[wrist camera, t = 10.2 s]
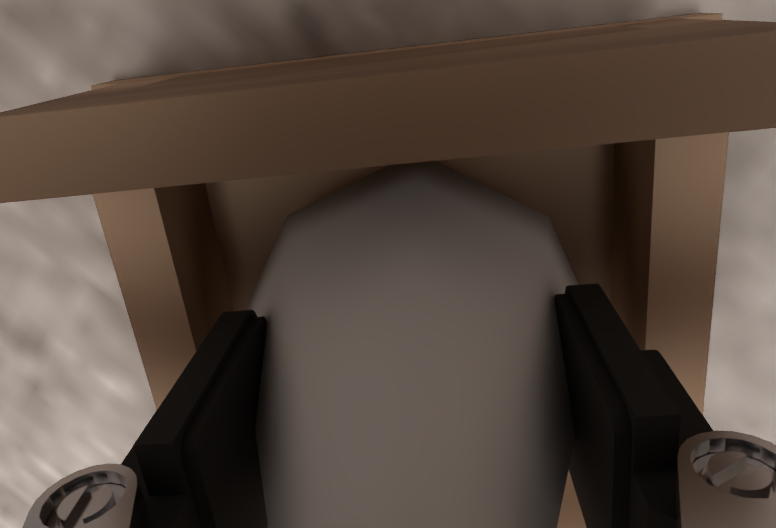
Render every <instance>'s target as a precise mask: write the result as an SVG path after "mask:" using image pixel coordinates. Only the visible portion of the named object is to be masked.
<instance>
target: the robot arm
mask: <svg viewBox="0 0 776 528" xmlns="http://www.w3.org/2000/svg"><path fill="white" fill-rule="evenodd" d="M555 307H556V313H557V320H558V326H559V333H560V339H561V346H562V352H563V358H564V365H565V371H566V378H567V384H568V391H569V397H570V404H571V410H572V417H573V423H574V429H575V440H574V445H573V450H572V455H571V460H570V465H569V472H570V475H571V479H572V482H573V485H574V488H575V492H576V495H577V498H578V501H579V505H580V508H581V511H582V514H583V518H584V521H585V524H586V527H587V528H776V445H774V444H773V443H771V442H769V441H766V440H763V439H760V438H758V437H755V436H752V435H748V434H743V433H738V432H733V431H713V430H712V428H711V427H710V425H709V424H708V422H707V421H706V419H705V418H704V416H703V415H702V413H701V412H700V411H699V409H698V408H697V406H696V405H695V403H694V402H693V400H692V399H691V397H690V396H689V394H688V393H687V391H686V390H685V388H684V387H683V385H682V384H681V383H680V381H679V380H678V378H677V377H676V375H675V374H674V372H673V371H672V369H671V368H670V366H669V365H668V363H667V362H666V360H665V359H664V358H663V356H662V355H661V353H660V352H659V351H658V350H654V349H653V350H640V348H639V347H638V345H637V344H636V342H635V340H634V339H633V337H632V336H631V334H630V332H629V331H628V329H627V328H626V326H625V324H624V323H623V321H622V320H621V318H620V316H619V315H618V313H617V312H616V310H615V309H614V307H613V305H612V304H611V302H610V301H609V299H608V297H607V296H606V294H605V293H604V291H603V289H602V288H601V286H600V285H599V284H598V283H594V284H581V285H568V286H566V288H565V294H556V295H555ZM266 327H267V320H266V318H265V317H264V316H262V317H257V315H256V313H255V311H254V310H243V311H230V312H223V313H222V314H221V315H220V317H219V318H218V320H217V321H216V323H215V324H214V326H213V327H212V329H211V330H210V332H209V333H208V335H207V336H206V338H205V339H204V341H203V342H202V344H201V345H200V347H199V348H198V350H197V351H196V353H195V354H194V356H193V357H192V359H191V360H190V362H189V363H188V365H187V366H186V368H185V369H184V371H183V372H182V374H181V375H180V377H179V378H178V380H177V381H176V383H175V384H174V386H173V387H172V389H171V390H170V392H169V393H168V394H167V396H166V397H165V399H164V400H163V402H162V403H161V405H160V406H159V408H158V409H157V411H156V412H155V414H154V415H153V417H152V418H151V420H150V421H149V423H148V424H147V426H146V427H145V429H144V430H143V432H142V433H141V435H140V436H139V438H138V439H137V441H136V442H135V444H134V445H133V447H132V449H131V450H130V452H129V453H128V455H127V456H126V458H125V459H124V461H123V462H122V464H103V465H96V466H91V467H88V468H85V469H82V470H79V471H77V472H75V473H73V474H70V475H68V476H66V477H64V478H62V479H61V480H59V481H58V482H56V483H55V484H54V485H52V486H51V487H49V488H48V489H47V490H46V491H45V492H44V493H43V494H42V495H41V496H40V497H39V498H38V499H37V500H36V501H35V503H34V504H33V506H32V508H31V509H30V511H29V513H28V515H27V518H26V520H25V523H24V525H23V528H266V527H267V524H268V522H267V514H266V507H265V499H264V492H263V484H262V477H261V469H260V462H259V454H258V447H257V439H256V432H255V424H256V415H257V407H258V398H259V389H260V380H261V371H262V363H263V354H264V345H265V336H266Z"/></svg>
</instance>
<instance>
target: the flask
mask: <svg viewBox="0 0 776 528" xmlns="http://www.w3.org/2000/svg"><path fill="white" fill-rule="evenodd" d="M568 285H579V284H578V282H577V280H576V277H575V275H574V273H573V271H572V268H571V266H570V264H569V261H568V259H567V257H566V255H565V252H564V250H563V248H562V245H561V243H560V241H559V239H558V236H557V234H556V232H555V230H554V227H553V225H552V223H551V220H550V218H549V217H548V216H546V215H544V214H542V213H540V212H538V211H536V210H534V209H532V208H530V207H528V206H526V205H524V204H522V203H520V202H518V201H516V200H514V199H512V198H510V197H508V196H506V195H504V194H502V193H500V192H498V191H496V190H494V189H492V188H490V187H488V186H486V185H484V184H482V183H480V182H478V181H476V180H474V179H472V178H470V177H468V176H466V175H464V174H462V173H460V172H458V171H456V170H454V169H452V168H450V167H448V166H445V165H443V164H441V163H439V162H437V161H427V162H417V163H406V164H396V165H388V166H386V167H384V168H382V169H380V170H378V171H376V172H374V173H372V174H370V175H368V176H366V177H364V178H362V179H360V180H358V181H356V182H354V183H352V184H350V185H348V186H346V187H344V188H342V189H340V190H338V191H336V192H334V193H332V194H330V195H328V196H326V197H324V198H322V199H320V200H318V201H316V202H314V203H311V204H309V205H307V206H305V207H303V208H301V209H299V210H297V211H295V212H293V213H291V214H289V215H287V217H286V220H285V222H284V224H283V226H282V229H281V231H280V233H279V235H278V238H277V240H276V242H275V244H274V247H273V249H272V251H271V253H270V256H269V258H268V260H267V262H266V265H265V267H264V269H263V272H262V274H261V276H260V278H259V281H258V283H257V285H256V287H255V290H254V292H253V294H252V296H251V299H250V301H249V303H248V305H247V308H246V310H254V311H255V313H256V315H257V317H262V316H264V317H265V318H266V320H267V327H266V336H265V345H264V354H263V363H262V371H261V380H260V389H259V398H258V407H257V415H256V424H255V432H256V439H257V447H258V454H259V462H260V469H261V477H262V484H263V492H264V499H265V507H266V514H267V522H268V528H557V524H558V520H559V515H560V510H561V505H562V500H563V495H564V490H565V485H566V480H567V475H568V470H569V465H570V460H571V455H572V450H573V445H574V440H575V429H574V423H573V417H572V410H571V404H570V397H569V391H568V384H567V378H566V371H565V365H564V358H563V352H562V346H561V339H560V333H559V326H558V320H557V313H556V307H555V295H556V294H565V288H566V286H568Z"/></svg>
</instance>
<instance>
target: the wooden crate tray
mask: <svg viewBox="0 0 776 528" xmlns="http://www.w3.org/2000/svg"><path fill="white" fill-rule="evenodd" d="M91 87H92V90H91V91H87V92H83V93H79V94H75V95H71V96H67V97H62V98H58V99H54V100H50V101H46V102H42V103H38V104H34V105H30V106H26V107H22V108H17V109H13V110H9V111H5V112H1V113H0V203H5V202H15V201H26V200H36V199H46V198H57V197H67V196H77V195H87V194H93V197H94V201H95V204H96V207H97V211H98V214H99V217H100V221H101V224H102V228H103V231H104V234H105V238H106V241H107V244H108V248H109V251H110V254H111V258H112V261H113V264H114V268H115V271H116V274H117V278H118V281H119V284H120V288H121V291H122V295H123V298H124V301H125V305H126V308H127V311H128V315H129V318H130V321H131V325H132V328H133V331H134V335H135V338H136V341H137V345H138V348H139V352H140V355H141V358H142V362H143V365H144V368H145V372H146V375H147V378H148V382H149V385H150V388H151V392H152V395H153V398H154V402H155V405H156V409H158V408H159V406H160V405H161V403H162V402H163V400H164V399H165V397H166V396H167V394H168V393H169V392H170V390H171V389H172V387H173V386H174V384H175V383H176V381H177V380H178V378H179V377H180V375H181V374H182V372H183V371H184V369H185V368H186V366H187V365H188V363H189V362H190V360H191V359H192V357H193V356H194V354H195V353H196V351H197V350H198V348H199V347H200V345H201V344H202V342H203V341H204V339H205V338H206V336H207V335H208V333H209V332H210V330H211V329H212V327H213V326H214V324H215V323H216V321H217V320H218V318H219V317H220V315H221V314H222V313H223V312H230V311H243V310H246V308H247V305H248V303H249V301H250V299H251V296H252V294H253V292H254V290H255V287H256V285H257V283H258V281H259V278H260V276H261V274H262V272H263V269H264V267H265V265H266V262H267V260H268V258H269V256H270V253H271V251H272V249H273V247H274V244H275V242H276V240H277V238H278V235H279V233H280V231H281V229H282V226H283V224H284V222H285V220H286V217H287V215H289V214H291V213H293V212H295V211H297V210H299V209H301V208H303V207H305V206H307V205H309V204H311V203H314V202H316V201H318V200H320V199H322V198H324V197H326V196H328V195H330V194H332V193H334V192H336V191H338V190H340V189H342V188H344V187H346V186H348V185H350V184H352V183H354V182H356V181H358V180H360V179H362V178H364V177H366V176H368V175H370V174H372V173H374V172H376V171H378V170H380V169H382V168H384V167H386V166H388V165H396V164H406V163H417V162H427V161H437V162H439V163H441V164H443V165H445V166H448V167H450V168H452V169H454V170H456V171H458V172H460V173H462V174H464V175H466V176H468V177H470V178H472V179H474V180H476V181H478V182H480V183H482V184H484V185H486V186H488V187H490V188H492V189H494V190H496V191H498V192H500V193H502V194H504V195H506V196H508V197H510V198H512V199H514V200H516V201H518V202H520V203H522V204H524V205H526V206H528V207H530V208H532V209H534V210H536V211H538V212H540V213H542V214H544V215H546V216H548V217H549V218H550V220H551V223H552V225H553V227H554V230H555V232H556V234H557V236H558V239H559V241H560V243H561V245H562V248H563V250H564V252H565V255H566V257H567V259H568V261H569V264H570V266H571V268H572V271H573V273H574V275H575V277H576V280H577V282H578V284H579V285H581V284H594V283H598V284H599V285H600V286H601V288H602V289H603V291H604V293H605V294H606V296H607V297H608V299H609V301H610V302H611V304H612V305H613V307H614V309H615V310H616V312H617V313H618V315H619V316H620V318H621V320H622V321H623V323H624V324H625V326H626V328H627V329H628V331H629V332H630V334H631V336H632V337H633V339H634V340H635V342H636V344H637V345H638V347H639V348H640V350H653V349H654V350H658V351H659V352H660V353H661V355H662V356H663V358H664V359H665V360H666V362H667V363H668V365H669V366H670V368H671V369H672V371H673V372H674V374H675V375H676V377H677V378H678V380H679V381H680V383H681V384H682V385H683V387H684V388H685V390H686V391H687V393H688V394H689V396H690V397H691V399H692V400H693V402H694V403H695V405H696V406H697V408H698V409H699V411H700V412H701V413H702V415H703V405H704V394H705V383H706V373H707V362H708V351H709V340H710V329H711V318H712V308H713V297H714V286H715V275H716V264H717V253H718V243H719V232H720V221H721V210H722V199H723V188H724V178H725V167H726V156H727V145H728V134H729V132H736V131H746V130H756V129H766V128H776V22H758V21H732V20H722V14H719V13H699V14H690V15H681V16H673V17H664V18H655V19H647V20H638V21H629V22H621V23H612V24H603V25H594V26H586V27H577V28H568V29H560V30H551V31H542V32H533V33H525V34H516V35H507V36H499V37H490V38H481V39H473V40H464V41H455V42H446V43H438V44H429V45H420V46H412V47H403V48H394V49H386V50H377V51H368V52H359V53H351V54H342V55H333V56H325V57H316V58H307V59H299V60H290V61H281V62H272V63H264V64H255V65H246V66H238V67H229V68H220V69H212V70H203V71H194V72H185V73H177V74H168V75H159V76H151V77H142V78H133V79H124V80H116V81H110V82H106V83H101V84H97V85H93V86H91ZM266 528H268V524H267V527H266ZM557 528H587V527H586V524H585V521H584V518H583V514H582V511H581V508H580V505H579V501H578V498H577V495H576V492H575V488H574V485H573V482H572V479H571V475H570V472H569V470H568V475H567V480H566V485H565V490H564V495H563V500H562V505H561V510H560V515H559V520H558V524H557Z"/></svg>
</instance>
